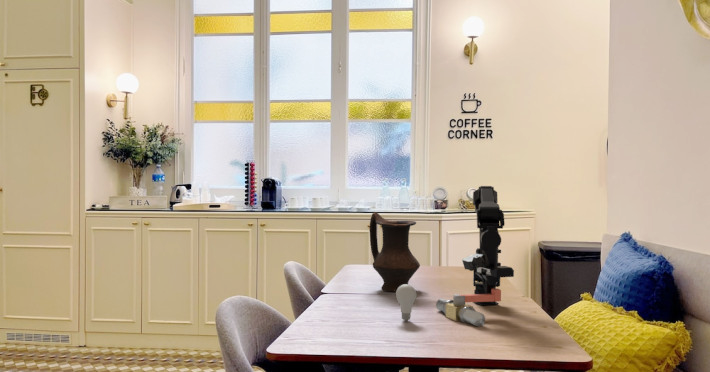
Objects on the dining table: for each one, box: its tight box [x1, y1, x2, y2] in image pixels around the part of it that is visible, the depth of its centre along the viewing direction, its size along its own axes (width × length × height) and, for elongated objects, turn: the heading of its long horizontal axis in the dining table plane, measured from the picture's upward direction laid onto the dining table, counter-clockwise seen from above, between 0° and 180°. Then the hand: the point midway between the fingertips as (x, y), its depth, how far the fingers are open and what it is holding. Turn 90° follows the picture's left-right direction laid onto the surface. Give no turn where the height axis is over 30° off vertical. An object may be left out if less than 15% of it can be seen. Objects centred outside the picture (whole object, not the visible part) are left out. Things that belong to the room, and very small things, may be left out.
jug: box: [369, 212, 421, 293], centre depth 219 cm, size 21×18×30 cm
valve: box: [435, 297, 486, 327], centre depth 170 cm, size 6×22×5 cm, turn 20°
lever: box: [452, 288, 502, 305], centre depth 171 cm, size 15×4×4 cm, turn 100°
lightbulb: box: [395, 283, 417, 322], centre depth 166 cm, size 6×6×11 cm
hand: (487, 295), depth 175 cm, fingers closed
